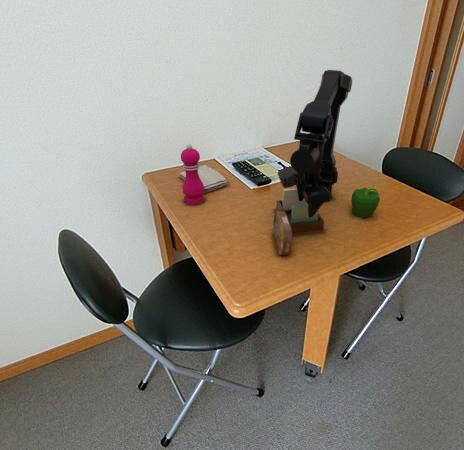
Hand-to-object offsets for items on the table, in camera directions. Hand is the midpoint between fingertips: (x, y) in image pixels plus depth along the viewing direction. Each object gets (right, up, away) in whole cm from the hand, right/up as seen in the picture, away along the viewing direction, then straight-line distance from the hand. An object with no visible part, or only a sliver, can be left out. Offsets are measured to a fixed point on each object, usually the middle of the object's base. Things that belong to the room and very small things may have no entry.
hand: (305, 208), depth 98 cm
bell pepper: (+20, -1, +12) cm, 23 cm away
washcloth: (-34, +11, +30) cm, 47 cm away
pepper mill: (-35, +4, +18) cm, 40 cm away
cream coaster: (-2, 0, +12) cm, 12 cm away
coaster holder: (-1, -3, +8) cm, 9 cm away
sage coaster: (0, -6, +4) cm, 7 cm away
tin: (-7, -10, -2) cm, 13 cm away
